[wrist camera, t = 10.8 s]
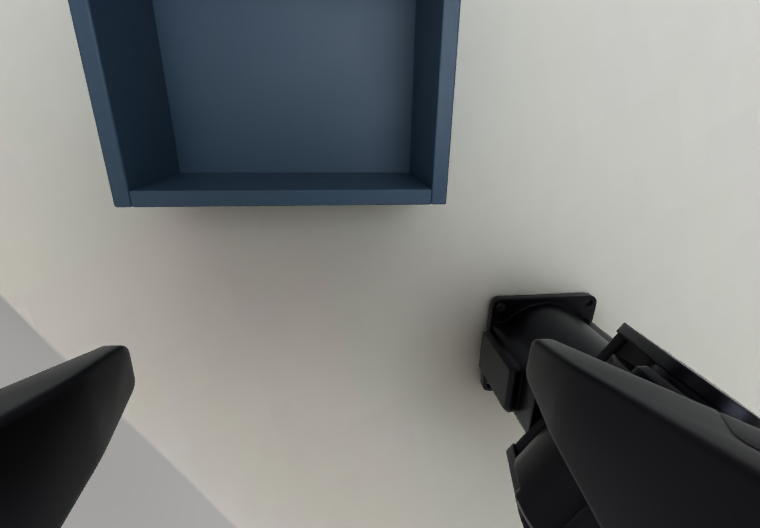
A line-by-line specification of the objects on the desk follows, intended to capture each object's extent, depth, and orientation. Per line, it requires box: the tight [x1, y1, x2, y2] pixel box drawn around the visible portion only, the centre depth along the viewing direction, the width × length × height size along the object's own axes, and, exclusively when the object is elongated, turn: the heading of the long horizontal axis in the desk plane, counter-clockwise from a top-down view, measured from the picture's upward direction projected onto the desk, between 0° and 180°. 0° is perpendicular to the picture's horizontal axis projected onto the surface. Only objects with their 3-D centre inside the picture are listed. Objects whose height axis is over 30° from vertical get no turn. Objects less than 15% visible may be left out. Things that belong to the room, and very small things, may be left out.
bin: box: [68, 0, 461, 207], centre depth 15 cm, size 12×10×6 cm
